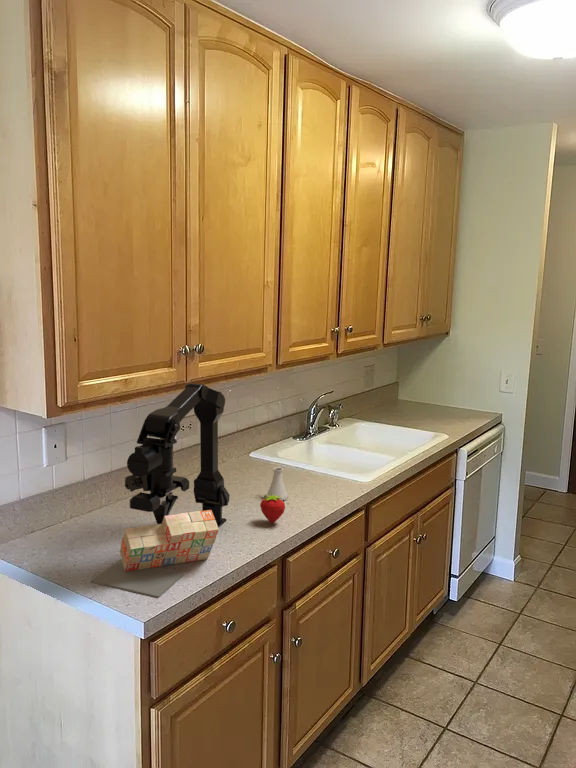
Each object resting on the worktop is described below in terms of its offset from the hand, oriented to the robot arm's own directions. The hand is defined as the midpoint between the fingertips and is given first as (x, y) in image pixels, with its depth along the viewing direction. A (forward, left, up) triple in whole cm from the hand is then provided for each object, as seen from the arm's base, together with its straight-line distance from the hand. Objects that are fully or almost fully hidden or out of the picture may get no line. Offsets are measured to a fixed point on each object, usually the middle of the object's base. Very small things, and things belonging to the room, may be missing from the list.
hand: (160, 525), depth 159 cm
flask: (-56, +10, -11) cm, 58 cm away
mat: (+8, -1, -10) cm, 13 cm away
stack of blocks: (-2, 0, -9) cm, 9 cm away
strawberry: (-36, +16, -10) cm, 41 cm away
